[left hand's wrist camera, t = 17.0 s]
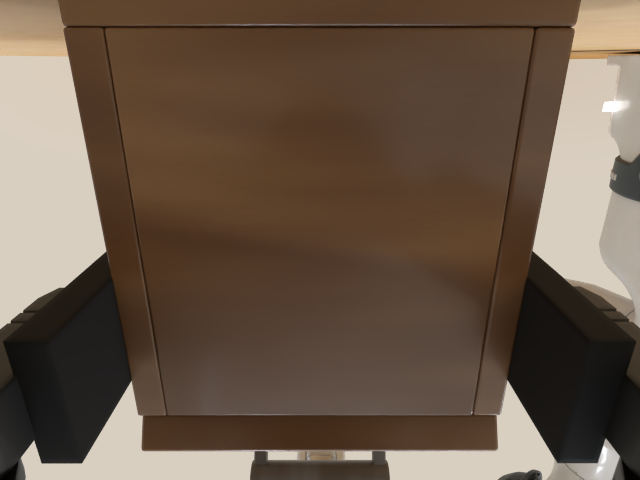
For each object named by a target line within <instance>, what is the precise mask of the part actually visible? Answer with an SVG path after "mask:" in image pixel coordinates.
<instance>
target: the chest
mask: <svg viewBox="0 0 640 480" xmlns="http://www.w3.org/2000/svg"><path fill="white" fill-rule="evenodd" d="M58 2H59V7H60V12H61V17H62V22H63V24H64V25H65V26H67V27H66V28H64V35H65V40H66V45H67V50H68V56H69V61H70V66H71V71H72V76H73V81H74V86H75V92H76V97H77V102H78V107H79V112H80V117H81V123H82V128H83V133H84V138H85V143H86V148H87V153H88V158H89V164H90V169H91V174H92V179H93V184H94V189H95V195H96V200H97V205H98V210H99V215H100V220H101V225H102V230H103V236H104V241H105V246H106V251H107V256H108V262H109V267H110V272H111V277H112V282H113V287H114V292H115V297H116V302H117V307H118V312H119V318H120V323H121V328H122V333H123V338H124V343H125V349H126V354H127V359H128V364H129V369H130V374H131V379H132V385H133V390H134V395H135V400H136V406H137V411H138V415H166V414H168V415H472V413H473V414H474V415H500V414H501V411H502V405H503V400H504V395H505V390H506V385H507V379H508V374H509V369H510V364H511V359H512V353H513V348H514V343H515V338H516V333H517V328H518V322H519V317H520V312H521V307H522V302H523V296H524V291H525V286H526V281H527V276H528V271H529V265H530V260H531V255H532V250H533V245H534V239H535V234H536V229H537V224H538V218H539V213H540V208H541V203H542V198H543V193H544V188H545V182H546V177H547V172H548V167H549V162H550V156H551V151H552V146H553V141H554V136H555V130H556V125H557V120H558V115H559V110H560V104H561V99H562V94H563V89H564V84H565V79H566V73H567V68H568V63H569V58H570V53H571V47H572V42H573V37H574V29H573V28H571V27H572V26H574V25H575V24H576V22H577V17H578V12H579V7H580V2H581V0H58Z"/></svg>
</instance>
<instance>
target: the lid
mask: <svg viewBox="0 0 640 480" xmlns="http://www.w3.org/2000/svg"><path fill="white" fill-rule="evenodd" d="M497 449H498V440H497V416H496V415H474V414H473V413H472V415H168V414H166V415H143V426H142V450H143V451H255V455H254V460H253V462H252V466H251V474H250V480H390V475H389V467H388V462H387V461H386V460H385V451H497ZM268 451H372V460H268Z"/></svg>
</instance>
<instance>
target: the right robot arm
mask: <svg viewBox="0 0 640 480" xmlns="http://www.w3.org/2000/svg"><path fill="white" fill-rule="evenodd" d="M607 65H619V69H618V75H617V81H616V88H615V93H614V100H613V102H605V104H604V108H603V112H608V111H612V112H611V118H610V124H609V133H610V134H611V136H612V137H613V138H614V139H615V141H616V142H617V145H618V147H619V151H620V155H619V156H618V157H616V158H615V162H614V166H613V169H612V170H611V175H610V177H611V180H610V185H609V186H610V188H611V189H612V194H611V198H610V202H609V206H608V210H607V214H606V218H605V222H604V226H603V230H602V234H601V238H600V242H599V246H600V253H601V256H602V259H603V261H604V263H605V264H606V265H607V267H608V268H609V269H610V270H611V271H612V272H613V273H614V274H615V275H616V276H617V277H618V278H619V279H620V281H621V282H622V283H623V284H624V285H625V287H626V288H627V290H628V292H629V294H630V296H631V298H632V300H631V299H628V298H626V297H623V296H621V295H618V294H616V293H613V292H611V291H608V290H606V289H603V288H601V287H599V286H596V285H593V284H588V283H584V282H579V281H574V280H569V279H565V280H566V281H568V282H569V283H570V284H571V285H572V286H581V287H583V288H585V289H587V290H589V291H591V292H593V293H595V294H597V295H599V296H601V297H603V298H604V299H605V300H606V301H608V302H609V303H610V304H611V305H612V306H614V307H615V308H616V309H617V311H620V312H621V313H622V314H623V315H625V316H626V317H627V318H628V319H629V322H633V323H635V324H636V325H637V326H638V327H639V328H640V55H619V56H608V59H607ZM619 457H620V456H619V455H618V453H617V452H616V451H615V450H614V448H613V447H612V446H611V444H610V443H609V442H608V440H607V439H605V442H604V445H603V448H602V451H601V455H600V458H599V461H598V463H557V462H556V460H555V461H554V467H553V470H552V472H551V474H550V476H549V477H548V479H547V480H612V478H613V475H614V472H615V469H616V466H617V463H618V460H619ZM297 460H345V451H297ZM498 480H542V474H541V472H540V471H537V470H531V471H529V472H527V473H524V472H515V473H511V474H507V475H504V476H502V477H501V478H499V479H498Z"/></svg>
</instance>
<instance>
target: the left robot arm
mask: <svg viewBox="0 0 640 480" xmlns="http://www.w3.org/2000/svg"><path fill="white" fill-rule="evenodd" d="M507 380H508V381H509V383H510V385H511V386H512V388H513V390H514V391H515V393H516V395H517V396H518V398H519V400H520V401H521V403H522V405H523V406H524V408H525V410H526V411H527V413H528V415H529V416H530V418H531V420H532V421H533V423H534V425H535V427H536V428H537V430H538V431H539V433H540V435H541V437H542V438H543V440H544V442H545V443H546V445H547V447H548V448H549V450H550V452H551V453H552V455H553V457H554V458H555V460H556V462H557V463H598V461H599V458H600V455H601V451H602V448H603V445H604V442H605V439H607V440H608V442H609V443H610V444H611V446H612V447H613V448H614V450H615V451H616V452H617V453H618V455H619V456H620V457H619V460H618V463H617V466H616V469H615V472H614V475H613V478H612V480H640V328H639V327H638V326H637V325H636V324H635V323H633V322H629V319H628V318H627V317H626V316H625V315H623V314H622V313H621V312H620V311H617V309H616V308H615V307H614V306H612V305H611V304H610V303H609V302H608V301H606V300H605V299H604V298H603V297H601V296H599V295H597V294H595V293H593V292H591V291H589V290H587V289H585V288H583V287H581V286H572V285H571V284H570V283H569V282H568V281H566V280H565V279H564V278H563V277H562V276H561V275H559V274H558V273H557V272H556V271H555V270H554V269H553V268H551V267H550V266H549V265H548V264H547V263H546V262H544V261H543V260H542V259H541V258H540V257H539V256H538V255H536V254H535V253H534V252H533V251H532V255H531V260H530V265H529V271H528V276H527V281H526V286H525V291H524V296H523V302H522V307H521V312H520V317H519V322H518V328H517V333H516V338H515V343H514V348H513V353H512V359H511V364H510V369H509V374H508V379H507ZM131 381H132V379H131V374H130V369H129V364H128V359H127V354H126V349H125V343H124V338H123V333H122V328H121V323H120V318H119V312H118V307H117V302H116V297H115V292H114V287H113V282H112V277H111V272H110V267H109V262H108V256H107V252H105V253H104V254H103V255H102V256H101V257H100V258H98V259H97V260H96V261H95V262H94V263H93V264H92V265H90V266H89V267H88V268H87V269H86V270H85V271H84V272H82V273H81V274H80V275H79V276H78V277H77V278H75V279H74V280H73V281H72V282H71V283H70V284H69V285H67V286H66V287H65V288H58V289H56V290H54V291H52V292H50V293H48V294H46V295H44V296H42V297H40V298H38V299H37V300H36V301H34V302H33V303H32V304H31V305H29V306H28V307H27V308H26V309H25V310H24V311H23V313H20V314H18V315H17V316H16V317H15V318H14V319H12V320H11V323H10V324H6V325H5V326H4V327H3V328H1V329H0V480H25V477H26V476H25V471H24V466H23V463H22V460H21V456H22V455H23V454H24V453H25V451H26V450H27V449H28V447H29V446H30V445H31V444H32V442H33V441H35V444H36V447H37V450H38V453H39V456H40V459H41V463H82V462H83V461H84V459H85V457H86V456H87V454H88V452H89V451H90V449H91V447H92V446H93V444H94V442H95V441H96V439H97V437H98V436H99V434H100V432H101V431H102V429H103V427H104V426H105V424H106V422H107V421H108V419H109V417H110V416H111V414H112V412H113V411H114V409H115V407H116V406H117V404H118V402H119V401H120V399H121V397H122V396H123V394H124V392H125V391H126V389H127V387H128V386H129V384H130V382H131Z"/></svg>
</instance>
